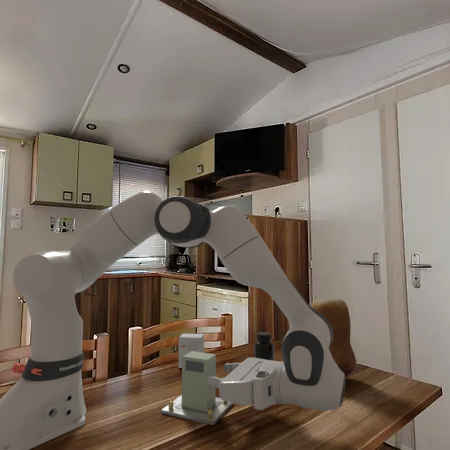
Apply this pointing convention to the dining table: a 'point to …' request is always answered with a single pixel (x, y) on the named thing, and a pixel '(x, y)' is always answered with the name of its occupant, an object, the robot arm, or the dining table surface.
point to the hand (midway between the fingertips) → (217, 373)
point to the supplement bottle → (264, 346)
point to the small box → (190, 345)
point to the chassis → (197, 411)
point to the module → (198, 380)
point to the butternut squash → (338, 332)
